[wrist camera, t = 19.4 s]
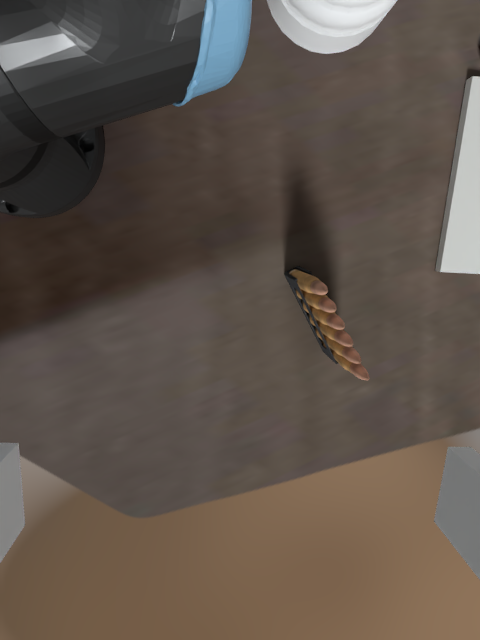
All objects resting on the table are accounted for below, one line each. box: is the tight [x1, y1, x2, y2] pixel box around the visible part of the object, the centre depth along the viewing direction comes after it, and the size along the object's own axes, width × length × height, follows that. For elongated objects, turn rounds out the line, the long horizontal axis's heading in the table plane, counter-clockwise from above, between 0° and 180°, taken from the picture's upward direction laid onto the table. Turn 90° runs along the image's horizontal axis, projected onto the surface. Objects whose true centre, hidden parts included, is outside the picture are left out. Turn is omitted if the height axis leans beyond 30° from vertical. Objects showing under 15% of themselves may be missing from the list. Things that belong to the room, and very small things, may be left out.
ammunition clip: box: [285, 266, 369, 380], centre depth 37 cm, size 11×2×12 cm, turn 28°
